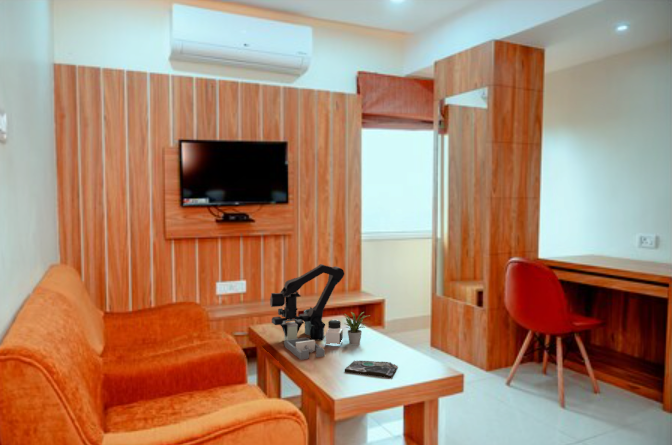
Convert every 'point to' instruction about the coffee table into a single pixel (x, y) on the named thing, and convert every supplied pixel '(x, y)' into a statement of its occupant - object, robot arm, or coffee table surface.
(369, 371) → the terrain model
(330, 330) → the medicine bottle
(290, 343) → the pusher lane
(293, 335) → the sage jar
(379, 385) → the coffee table surface
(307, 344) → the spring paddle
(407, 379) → the coffee table surface
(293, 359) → the coffee table surface
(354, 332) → the house plant
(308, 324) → the drinking glass
